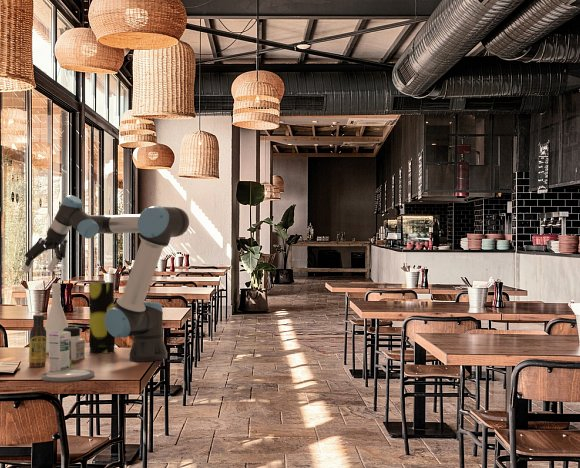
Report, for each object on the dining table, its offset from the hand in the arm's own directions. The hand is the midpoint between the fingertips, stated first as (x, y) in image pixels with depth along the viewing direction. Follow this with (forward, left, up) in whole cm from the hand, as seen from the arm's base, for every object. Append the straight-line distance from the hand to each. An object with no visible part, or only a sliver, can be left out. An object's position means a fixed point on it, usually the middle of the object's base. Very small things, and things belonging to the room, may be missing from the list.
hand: (37, 271), depth 322 cm
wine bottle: (-4, -11, -36) cm, 38 cm away
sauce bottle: (-8, +26, -36) cm, 45 cm away
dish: (-27, +51, -36) cm, 68 cm away
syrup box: (-20, +37, -36) cm, 56 cm away
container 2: (-24, -10, -36) cm, 45 cm away
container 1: (-16, +8, -36) cm, 40 cm away
